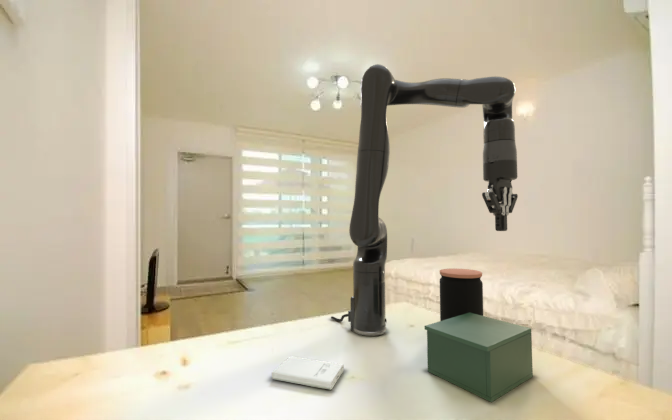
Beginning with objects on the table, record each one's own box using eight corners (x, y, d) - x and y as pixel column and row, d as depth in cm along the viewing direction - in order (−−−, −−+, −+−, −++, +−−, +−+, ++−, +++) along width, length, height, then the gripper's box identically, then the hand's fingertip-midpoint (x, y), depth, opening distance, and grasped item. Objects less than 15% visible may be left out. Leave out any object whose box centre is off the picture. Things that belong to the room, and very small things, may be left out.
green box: (491, 402, 54) (490, 350, 54) (427, 371, 65) (426, 328, 65) (532, 376, 62) (531, 332, 63) (470, 353, 74) (469, 315, 74)
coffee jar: (475, 333, 87) (474, 268, 88) (490, 348, 76) (488, 275, 77) (436, 331, 88) (435, 268, 89) (446, 347, 77) (444, 274, 78)
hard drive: (290, 362, 69) (343, 370, 65) (271, 380, 61) (330, 391, 57) (290, 355, 69) (343, 363, 65) (271, 371, 61) (330, 382, 57)
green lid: (487, 351, 53) (487, 347, 53) (424, 329, 65) (424, 325, 65) (531, 332, 63) (531, 328, 63) (469, 315, 74) (469, 312, 74)
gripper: (498, 166, 84) (500, 230, 83) (470, 160, 77) (471, 231, 76) (528, 161, 78) (530, 230, 77) (500, 155, 70) (502, 231, 70)
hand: (501, 230), depth 76 cm, fingers closed
